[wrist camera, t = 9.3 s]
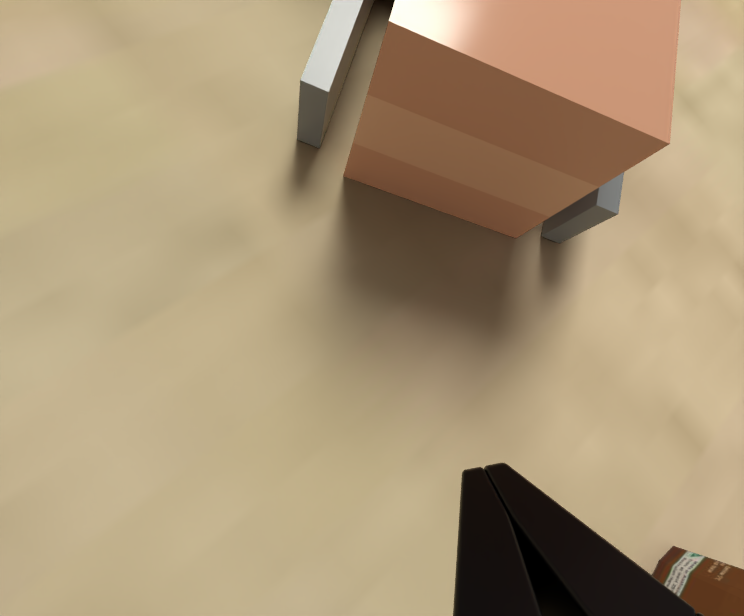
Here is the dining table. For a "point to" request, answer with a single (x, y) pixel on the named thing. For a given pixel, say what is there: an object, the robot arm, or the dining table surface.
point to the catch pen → (329, 76)
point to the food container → (703, 582)
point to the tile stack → (515, 103)
